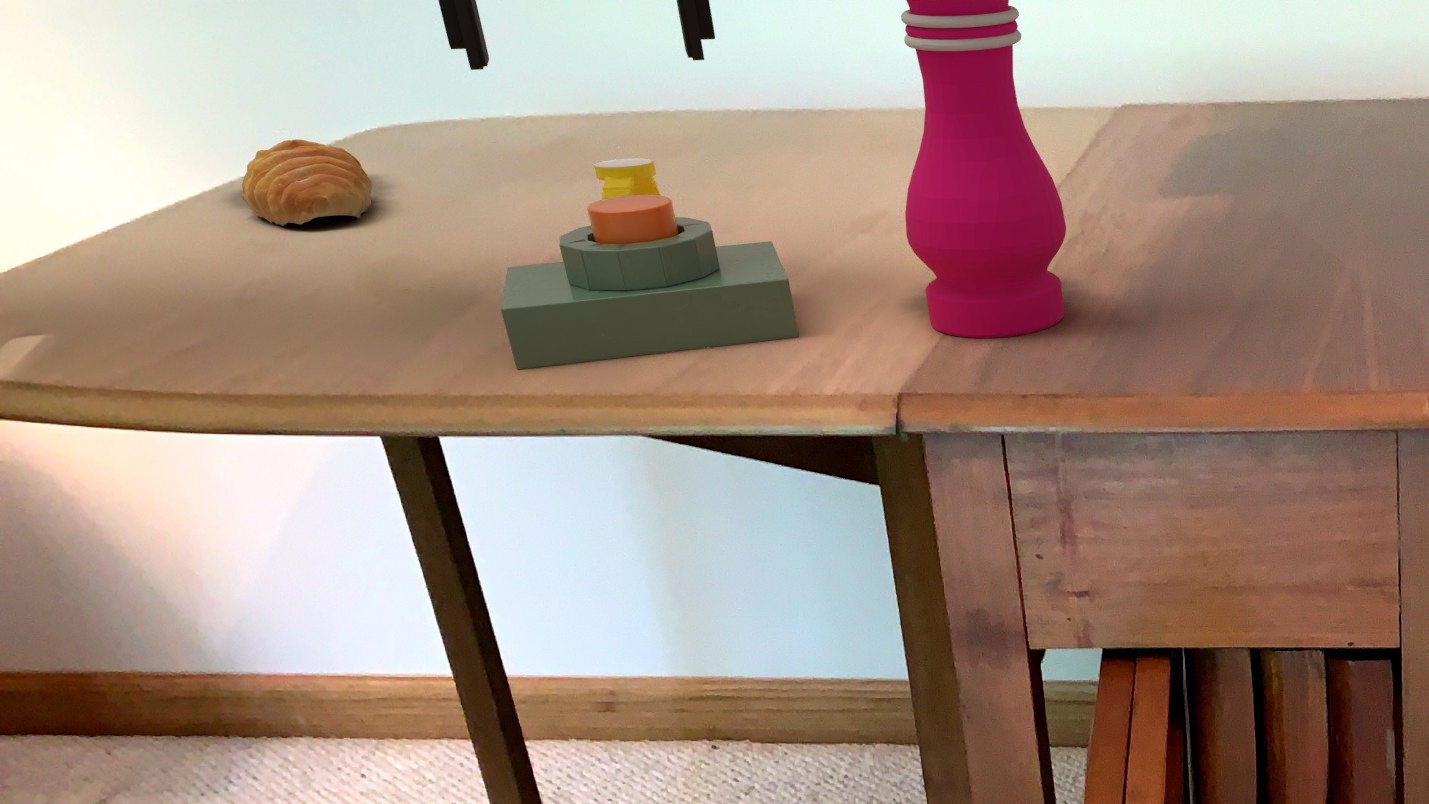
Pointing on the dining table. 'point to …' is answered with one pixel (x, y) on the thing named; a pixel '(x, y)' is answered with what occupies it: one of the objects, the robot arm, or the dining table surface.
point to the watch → (627, 177)
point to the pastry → (305, 183)
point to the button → (632, 219)
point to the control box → (645, 298)
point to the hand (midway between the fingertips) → (589, 61)
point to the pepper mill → (979, 178)
